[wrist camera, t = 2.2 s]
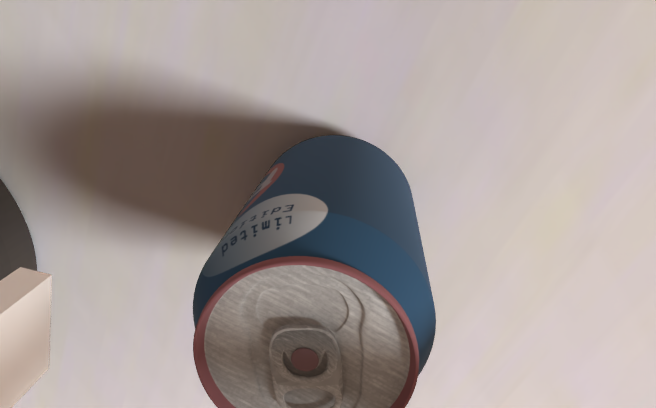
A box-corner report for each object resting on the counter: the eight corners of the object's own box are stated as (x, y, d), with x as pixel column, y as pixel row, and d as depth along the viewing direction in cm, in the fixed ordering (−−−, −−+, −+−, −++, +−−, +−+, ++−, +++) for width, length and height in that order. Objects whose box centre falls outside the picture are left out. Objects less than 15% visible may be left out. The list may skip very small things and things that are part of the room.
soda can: (256, 132, 23) (144, 242, 12) (409, 124, 22) (445, 232, 11) (273, 268, 25) (193, 466, 14) (412, 264, 25) (444, 471, 13)
